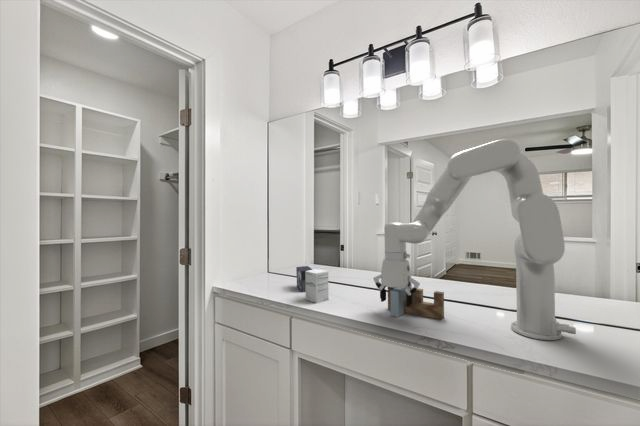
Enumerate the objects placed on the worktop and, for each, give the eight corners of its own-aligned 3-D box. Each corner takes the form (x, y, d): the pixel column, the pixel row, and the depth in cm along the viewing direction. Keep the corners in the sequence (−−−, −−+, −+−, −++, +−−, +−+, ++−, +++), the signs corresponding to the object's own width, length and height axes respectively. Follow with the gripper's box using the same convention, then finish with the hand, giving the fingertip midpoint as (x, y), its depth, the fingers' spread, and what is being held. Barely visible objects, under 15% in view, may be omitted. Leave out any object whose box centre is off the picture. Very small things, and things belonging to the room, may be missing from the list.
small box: (295, 287, 149) (295, 266, 149) (308, 286, 151) (308, 265, 151) (300, 292, 139) (300, 270, 139) (314, 291, 141) (313, 269, 141)
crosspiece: (411, 306, 116) (411, 283, 116) (398, 316, 105) (398, 291, 105) (404, 305, 118) (404, 282, 118) (390, 315, 107) (390, 290, 107)
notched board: (444, 317, 104) (443, 292, 104) (442, 319, 102) (441, 293, 102) (390, 307, 116) (390, 284, 115) (387, 309, 113) (387, 285, 113)
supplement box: (305, 299, 127) (304, 270, 127) (317, 296, 132) (317, 268, 132) (316, 303, 121) (315, 273, 121) (329, 300, 126) (328, 270, 126)
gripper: (422, 256, 105) (423, 304, 105) (377, 253, 115) (378, 296, 115) (415, 259, 99) (416, 310, 99) (369, 255, 109) (369, 301, 109)
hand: (395, 303), depth 107 cm, fingers open, 9 cm apart
